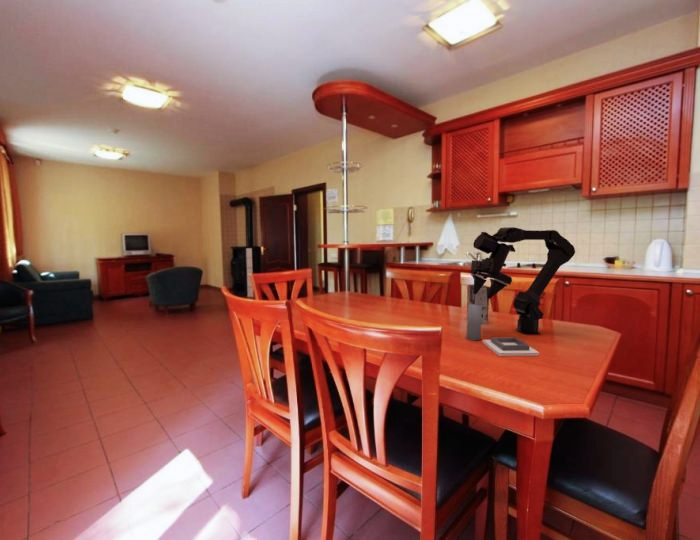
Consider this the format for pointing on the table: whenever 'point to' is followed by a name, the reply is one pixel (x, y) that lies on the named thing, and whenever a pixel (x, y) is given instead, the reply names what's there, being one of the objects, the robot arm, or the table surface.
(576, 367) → the table surface
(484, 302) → the coffee box
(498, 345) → the seat board
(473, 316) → the slate post
